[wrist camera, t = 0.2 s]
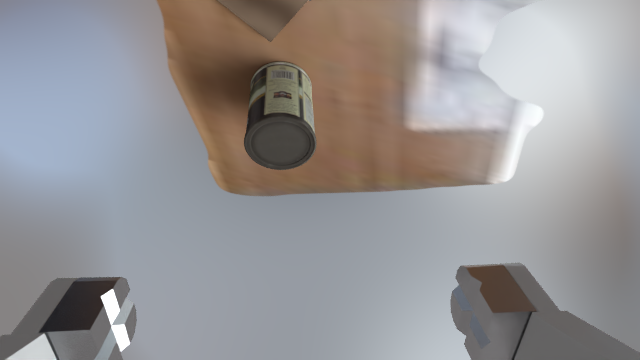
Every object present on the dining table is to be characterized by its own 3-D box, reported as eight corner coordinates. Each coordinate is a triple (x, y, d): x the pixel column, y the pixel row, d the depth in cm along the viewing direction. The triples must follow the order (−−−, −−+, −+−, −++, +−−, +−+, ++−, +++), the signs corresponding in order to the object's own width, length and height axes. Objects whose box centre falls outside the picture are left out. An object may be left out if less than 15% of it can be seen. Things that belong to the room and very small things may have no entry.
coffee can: (266, 120, 71) (262, 177, 61) (239, 72, 63) (230, 129, 54) (320, 103, 69) (325, 160, 59) (299, 52, 61) (301, 107, 52)
